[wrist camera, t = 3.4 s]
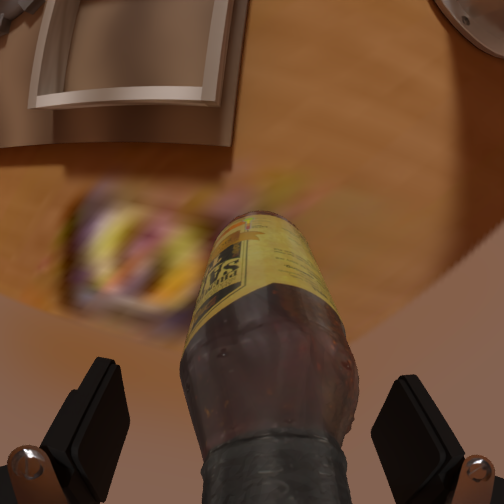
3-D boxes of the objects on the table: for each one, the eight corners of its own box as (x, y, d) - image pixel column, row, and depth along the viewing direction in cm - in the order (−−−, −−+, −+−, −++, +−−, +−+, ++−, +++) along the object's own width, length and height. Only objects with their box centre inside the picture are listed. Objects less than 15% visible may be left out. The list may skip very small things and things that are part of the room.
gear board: (262, -89, 13) (265, -124, 8) (231, 146, 19) (226, 147, 15) (0, -38, 12) (-27, -51, 7) (-39, 152, 18) (-75, 160, 14)
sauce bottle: (224, 197, 20) (101, 563, 2) (317, 220, 21) (514, 520, 2) (204, 287, 23) (134, 597, 4) (289, 306, 23) (348, 602, 4)
